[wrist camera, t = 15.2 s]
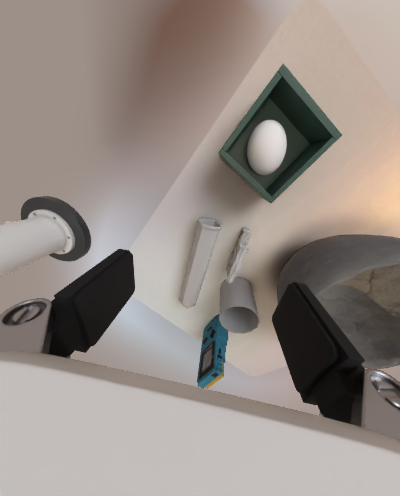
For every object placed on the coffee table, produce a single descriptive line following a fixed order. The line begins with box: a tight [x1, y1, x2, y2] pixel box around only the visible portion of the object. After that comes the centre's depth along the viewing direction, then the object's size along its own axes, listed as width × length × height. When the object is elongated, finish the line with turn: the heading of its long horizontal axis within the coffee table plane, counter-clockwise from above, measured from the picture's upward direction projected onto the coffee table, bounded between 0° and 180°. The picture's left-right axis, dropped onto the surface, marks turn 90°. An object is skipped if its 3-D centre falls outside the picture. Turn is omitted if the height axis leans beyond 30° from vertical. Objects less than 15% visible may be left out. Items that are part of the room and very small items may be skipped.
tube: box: [179, 218, 221, 308], centre depth 38 cm, size 5×5×25 cm
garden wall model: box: [226, 228, 252, 283], centre depth 34 cm, size 12×2×6 cm, turn 165°
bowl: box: [277, 235, 400, 369], centre depth 29 cm, size 24×24×15 cm
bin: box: [219, 64, 342, 203], centre depth 25 cm, size 12×12×6 cm
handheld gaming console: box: [197, 315, 228, 388], centre depth 42 cm, size 10×4×15 cm, turn 152°
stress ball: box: [247, 120, 287, 175], centre depth 25 cm, size 8×8×7 cm
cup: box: [219, 277, 260, 333], centre depth 37 cm, size 8×8×10 cm
